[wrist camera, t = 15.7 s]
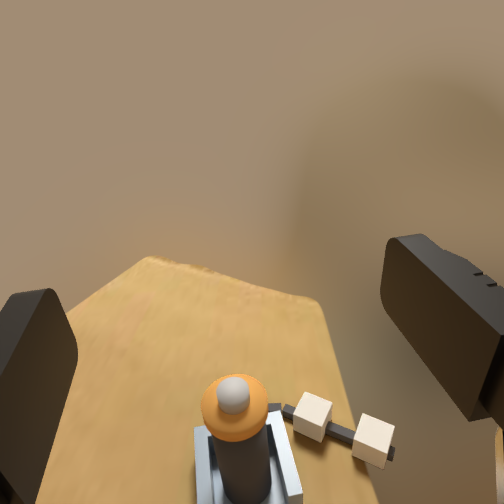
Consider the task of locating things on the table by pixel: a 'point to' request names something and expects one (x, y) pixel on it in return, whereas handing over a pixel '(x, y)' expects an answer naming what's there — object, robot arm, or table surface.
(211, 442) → the end holder
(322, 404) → the routed cable
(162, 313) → the table surface
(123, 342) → the table surface
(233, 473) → the grey and orange bottle
